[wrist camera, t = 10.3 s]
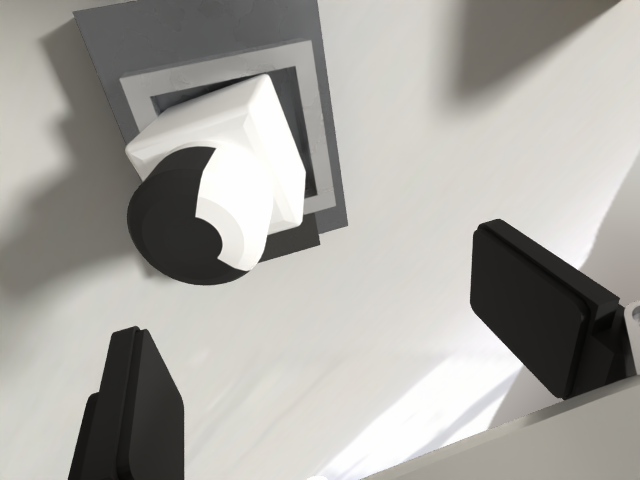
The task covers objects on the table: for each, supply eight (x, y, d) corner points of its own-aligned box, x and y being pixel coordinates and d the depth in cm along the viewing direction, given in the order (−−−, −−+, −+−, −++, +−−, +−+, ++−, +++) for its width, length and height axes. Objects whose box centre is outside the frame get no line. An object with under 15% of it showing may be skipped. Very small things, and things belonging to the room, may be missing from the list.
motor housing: (83, 12, 25) (59, 11, 21) (300, -26, 28) (326, -35, 23) (178, 255, 35) (178, 294, 30) (336, 211, 37) (360, 241, 32)
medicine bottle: (214, 202, 30) (162, 318, 20) (164, 107, 26) (69, 193, 16) (307, 173, 29) (300, 283, 19) (268, 70, 25) (234, 138, 15)
